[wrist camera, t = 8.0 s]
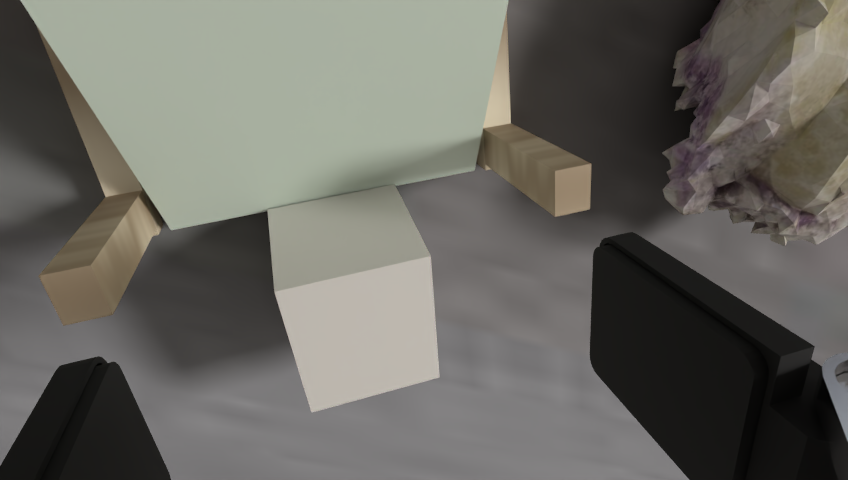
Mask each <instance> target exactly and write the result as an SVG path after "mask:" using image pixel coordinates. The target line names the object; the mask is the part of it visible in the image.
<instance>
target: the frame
mask: <svg viewBox="0 0 848 480" xmlns="http://www.w3.org/2000/svg"><path fill="white" fill-rule="evenodd" d="M35 24H36V23H35ZM36 26H37V25H36ZM37 29H38V31H39V33H40V36H41V38H42V41H43V43H44V46H45V48H46V51H47V53H48V56H49V58H50V61H51V63H52V66H53V68H54V71H55V73H56V76H57V78H58V80H59V83H60V85H61V88H62V90H63V93H64V95H65V98H66V100H67V103H68V105H69V108H70V110H71V113H72V115H73V118H74V120H75V123H76V125H77V127H78V130H79V132H80V135H81V137H82V140H83V142H84V145H85V147H86V150H87V152H88V155H89V157H90V160H91V162H92V165H93V167H94V170H95V172H96V174H97V177H98V179H99V182H100V184H101V187H102V189H103V192H104V194H105V198H104V199H103V201H102V202H101V203H100V204H99V205H98V206H97V208H96V209H95V210H94V211H93V212H92V214H91V215H90V216H89V217H88V218H87V219H86V221H85V222H84V223H83V224H82V225H81V226H80V228H79V229H78V230H77V231H76V232H75V234H74V235H73V236H72V237H71V238H70V239H69V241H68V242H67V243H66V244H65V245H64V247H63V248H62V249H61V250H60V251H59V252H58V254H57V255H56V256H55V257H54V258H53V259H52V261H51V262H50V263H49V264H48V265H47V267H46V268H45V269H44V270H43V271H42V272H41V274H40V275H39V278H40V280H41V282H42V284H43V286H44V288H45V290H46V292H47V294H48V296H49V298H50V300H51V302H52V304H53V306H54V308H55V310H56V312H57V314H58V316H59V318H60V320H61V322H62V324H63V326H64V325H69V324H73V323H78V322H82V321H87V320H91V319H96V318H100V317H105V316H110V315H113V314H114V312H115V310H116V308H117V306H118V304H119V302H120V300H121V298H122V296H123V294H124V292H125V290H126V288H127V286H128V284H129V282H130V280H131V278H132V276H133V274H134V272H135V270H136V268H137V266H138V264H139V262H140V260H141V258H142V256H143V254H144V252H145V250H146V248H147V246H148V244H149V242H150V240H151V238H152V236H155V235H159V233H160V231H161V229H162V227H163V222H162V219H161V217H160V214H159V211H158V210H157V208H156V207H155V205H154V204H153V202H152V200H151V199H150V197H149V196H148V194H147V193H146V191H145V190H144V188H143V187H142V185H141V184H140V182H139V181H138V179H137V178H136V176H135V175H134V173H133V171H132V170H131V168H130V167H129V165H128V164H127V162H126V161H125V159H124V158H123V156H122V155H121V153H120V152H119V150H118V149H117V147H116V146H115V144H114V142H113V141H112V139H111V138H110V136H109V135H108V133H107V132H106V130H105V129H104V127H103V126H102V124H101V123H100V121H99V120H98V118H97V117H96V115H95V113H94V112H93V110H92V109H91V107H90V106H89V104H88V103H87V101H86V100H85V98H84V97H83V95H82V94H81V92H80V91H79V89H78V88H77V86H76V84H75V83H74V81H73V80H72V78H71V77H70V75H69V74H68V72H67V71H66V69H65V68H64V66H63V65H62V63H61V62H60V60H59V59H58V57H57V55H56V54H55V52H54V51H53V49H52V48H51V46H50V45H49V43H48V42H47V40H46V39H45V37H44V36H43V34H42V33H41V31H40V30H39V28H38V26H37ZM477 164H478V165H479V166H481V167H482V168H483V169H485V170H489V169H492V170H493V171H495V172H496V173H497V174H499V175H500V176H501V177H503V178H504V179H505V180H507V181H508V182H509V183H511V184H512V185H513V186H515V187H516V188H517V189H519V190H520V191H521V192H523V193H524V194H525V195H527V196H528V197H529V198H531V199H532V200H533V201H535V202H536V203H537V204H539V205H540V206H541V207H543V208H544V209H545V210H547V211H548V212H549V213H550V214H552V215H553V216H554V217H557V216H562V215H566V214H571V213H576V212H580V211H585V210H589V209H590V194H591V163H589V162H587V161H585V160H583V159H581V158H579V157H577V156H575V155H573V154H571V153H569V152H567V151H565V150H563V149H561V148H559V147H557V146H555V145H553V144H551V143H549V142H547V141H545V140H543V139H541V138H539V137H537V136H535V135H533V134H531V133H529V132H527V131H525V130H523V129H521V128H519V127H517V126H515V125H513V124H511V111H510V85H509V59H508V33H507V11H506V16H505V21H504V26H503V31H502V36H501V41H500V46H499V51H498V56H497V61H496V66H495V71H494V76H493V81H492V86H491V91H490V96H489V101H488V106H487V111H486V116H485V121H484V126H483V131H482V136H481V141H480V146H479V151H478V156H477Z"/></svg>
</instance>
